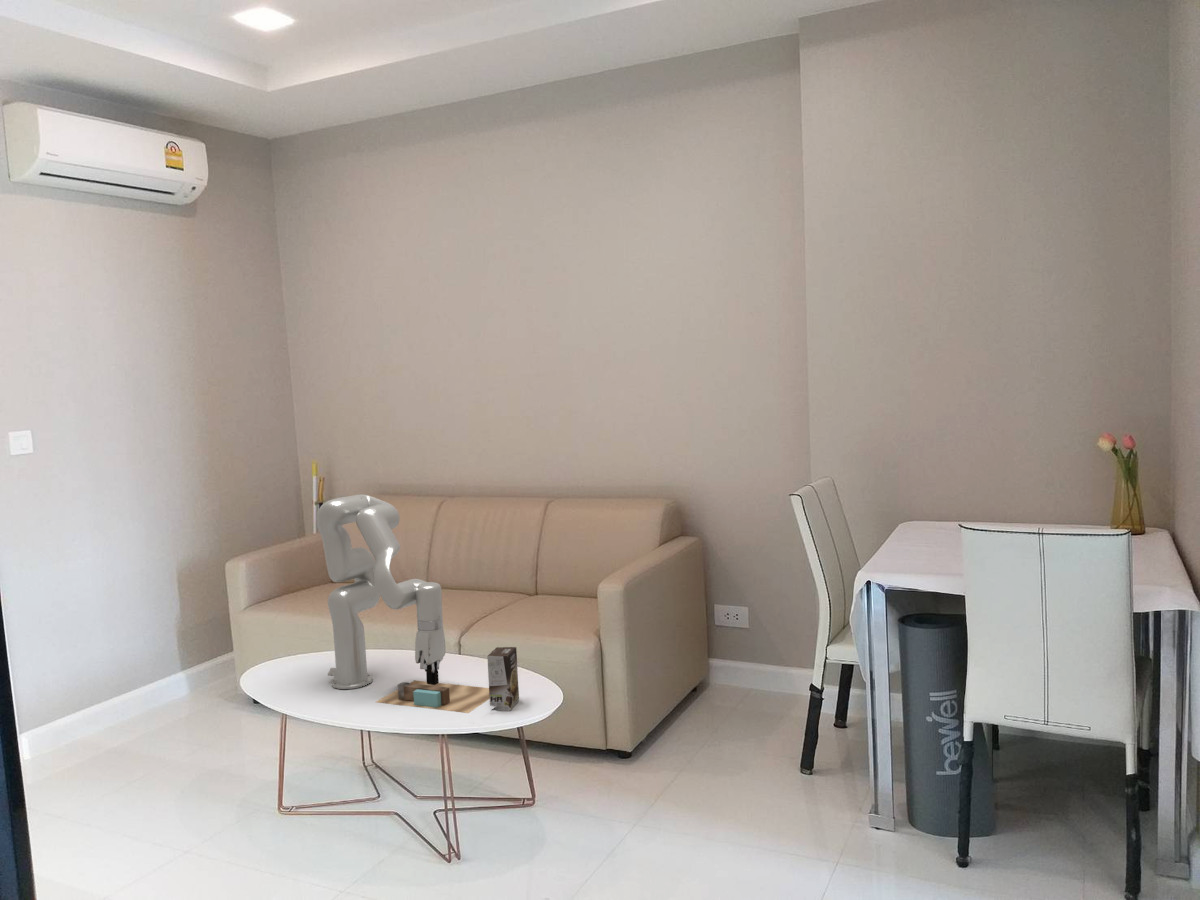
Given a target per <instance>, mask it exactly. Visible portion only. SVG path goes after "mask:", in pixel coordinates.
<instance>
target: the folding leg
mask: <svg viewBox="0 0 1200 900" xmlns="http://www.w3.org/2000/svg"><path fill="white" fill-rule="evenodd" d="M417 689H420V690H429V691H438V692H441V704H443V705H444V704H446V703H448V702H449V701H450V694H449V688H448V687H439V686H430V685H422V684H413V683H410V682H407V681H406V682H405V681H404V682H401V683H398V684H397V690H398V699H400V700H411V701H414V695H413V691H415V690H417Z"/></svg>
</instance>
